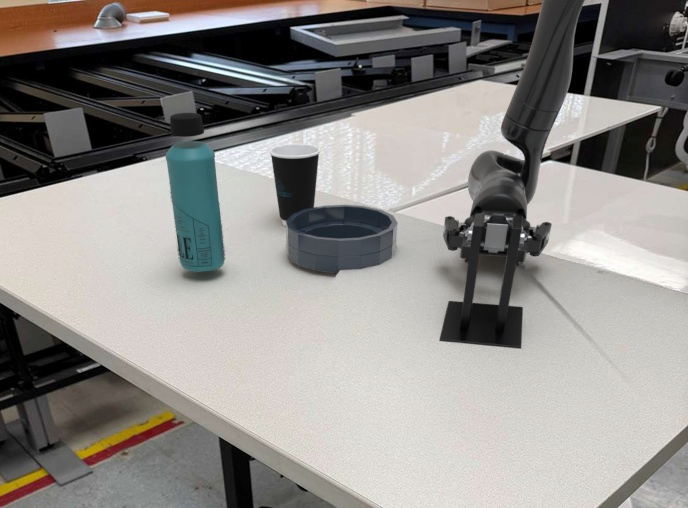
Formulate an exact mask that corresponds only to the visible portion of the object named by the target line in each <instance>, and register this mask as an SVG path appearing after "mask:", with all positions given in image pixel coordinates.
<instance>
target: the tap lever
mask: <svg viewBox="0 0 688 508" xmlns="http://www.w3.org/2000/svg"><path fill="white" fill-rule="evenodd" d="M507 230H508V225H505V224H489V223H488V224H487V229H486V236H485V242H482V241H481V247H480V254H479V256H491V257H492V256H493V257H502V258H503V257H505V258H506V256H507V250H508V244H509V243H506V237H507Z"/></svg>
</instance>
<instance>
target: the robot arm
mask: <svg viewBox="0 0 688 508" xmlns="http://www.w3.org/2000/svg"><path fill="white" fill-rule="evenodd" d="M585 2H586V0H542V1H541V5H540V10H539V14H538V18H537V23H536V25H535V30H534V33H533V37H532V41H531V45H530V48H529V51H528V54H527V58H526V61H525V64H524V67H523V69H522V72H521V74H520V77H519V80H518V82H517V84H516V86H515V89H514V92H513V95H512V96H511V99H510V102H509V104H508V106H507V110H506V111H505V115H504V117H503V119H502V122H501V125H500V133H501V135H502V137H503V138H504V139H505V140H506V141H507V142H508V143H510V144H511V145H513V146H514V147H515V148H517V149H518V150H519V151H520V152H521V153H522V155H523V158H524V159H521V158H518V157H515V156H512V155H509V154H507V153H503V152H500V151H498V150H493V149H492V150H486V151H483V152H481V153H480V154H479V155H478V156H476V158H475V160H474V161H473V163H472V165H471V167H470V169H469V172H468V176H467V177H468V178H467V190H468V194H469V196H470V199H471V200H472V205H471V209H470V213H469V217H467V218H466V219H464V222H462V221H461V222H459V221H460V220H459V219H456V218H455V217H454V216H452V215H448V216H445V217H444V223H443V226H444V227H443V234H442V237H443V240H444V242H445V245H446V248H447V250H449V251H451V252H454V251H458V249H460V253H459V257H460V258H461V259H464V263H468V262H469V254H470V246H471V243H467V236H468V230H469V229H473V225H474V220H475V215H476V213H482V214H485V218H484V225H483V232H482V240H481V241H482V242H485V236H486V229H487V224H488V223H489V224H505V225H508V230H507V237H506V243H509V238H510V232H511V225H512V219H513V215H517V216H523V217H522V231H521V232H525V239H524V244H523V246H519V248H518V254H517V260H516V266H515V267H519V264H520V263H522V264H523V263H525V261H526V256H527V254H529V256H531V257H540V255H541V254H542V252H543V251H544V250H545V248H546V247H547V245H548V243H549V240H550V236H551V231H552V222H549V221H544V222H542V223H541V224H537V225H536V226H531V222H530V221H528V219H527V216H528V205H529V204H530V203H531V202H532V200H533V198H534V196H535V195H536V192H537V187H538V181H539V175H540V169H541V163H542V158H543V153H544V149H545V147H546V144H547V141H548V138H549V136H550V133H551V131H552V129H553V127H554V124H555V122H556V120H557V118H558V116H559V113H560V112H561V109H562V107H563V105H564V102H565V100H566V97H567V95H568V91H569V89H570V85H571V81H572V75H573V66H574V65H573V63H574V45H575V36H576V35H575V34H576V29H577V25H578V21H579V17H580V13H581V11H582V8H583V5H584V4H585Z"/></svg>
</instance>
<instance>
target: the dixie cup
mask: <svg viewBox="0 0 688 508" xmlns="http://www.w3.org/2000/svg"><path fill="white" fill-rule="evenodd" d="M268 152H269V153H268V154H269V155H270V157H271V164H272V172H273V178H274V179H273V180H274V185H275V186H274V187H275V193H276V200H277V206H278V214H279V218H280V220H281V225H282V226H283V227H285V228H286V220H287V219H288V218H289V217H290V216H291V215H292V214H294V213H297V212H299V211H302V210H304V209H308V208H314V207H315V202H316V201H315V199H316V189H317V178H318V169H319V168H318V167H319V155H320V153H321V152H322V150H321V148H320V146H317V145H314V144H308V143H287V144H286V143H285V144H279V145H276V146H273V147H270V149H269V151H268Z"/></svg>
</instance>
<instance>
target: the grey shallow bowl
mask: <svg viewBox="0 0 688 508" xmlns="http://www.w3.org/2000/svg"><path fill="white" fill-rule="evenodd" d="M285 235H286V236H285V237H286V238H285V239H286V241H285V242H286V254H287V258H288V260H290V261H291V262H292V263H293V264H296V265H297V266H298V267H301V268H304V269H308V270H312V271H315V272H323V273H331V274H332V273H335V274H339V272H340V271H350V270H353V271H354V270H363V269H367V268H372V267H375V266H380V265H382V264H384V263H385V262H388V261H389V260H391V259H393V257H394V255H395V253H396V251H397V240H398V239H397V238H398V221H397V219H396V218H395V216H394V215H393V214H392V213H389V212H387V211H385V210H383V209H380V208H375V207H371V206H365V205H358V204H357V205H355V204H331V205H329V204H328V205H320V206H314V208H308V209H304V210H302V211H299V212H297V213H294V214H292V215H291V216H290V217H289V218H288V219H287V220H286V227H285Z"/></svg>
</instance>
